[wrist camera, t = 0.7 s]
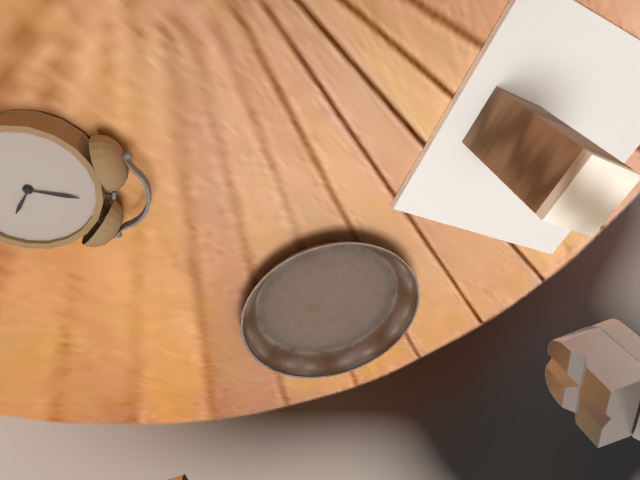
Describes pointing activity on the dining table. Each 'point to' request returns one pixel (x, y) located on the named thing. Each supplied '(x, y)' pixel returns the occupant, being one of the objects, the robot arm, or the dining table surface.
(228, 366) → the dining table surface
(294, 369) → the plant saucer
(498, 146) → the walnut block
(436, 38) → the dining table surface
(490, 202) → the white mat
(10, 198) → the alarm clock
